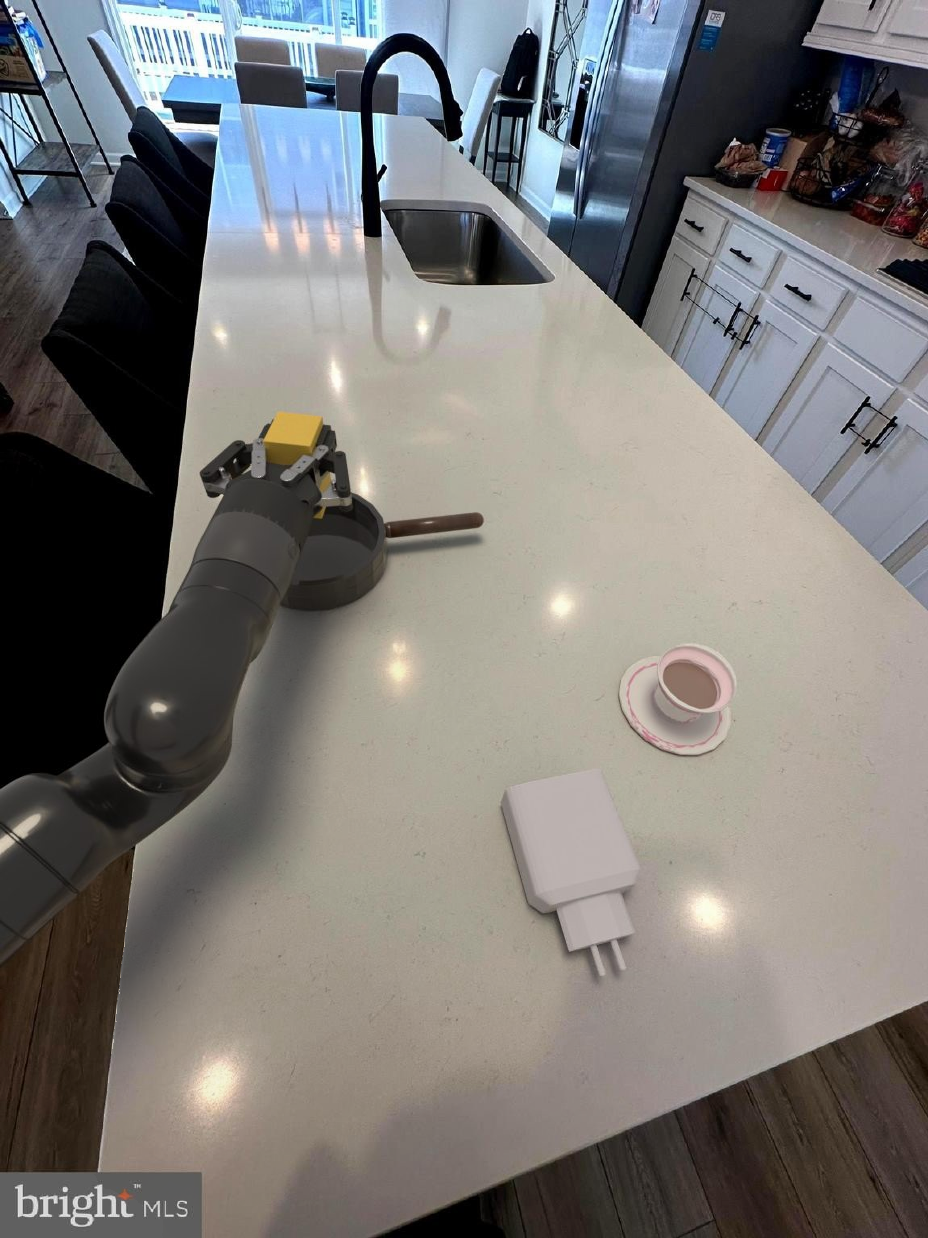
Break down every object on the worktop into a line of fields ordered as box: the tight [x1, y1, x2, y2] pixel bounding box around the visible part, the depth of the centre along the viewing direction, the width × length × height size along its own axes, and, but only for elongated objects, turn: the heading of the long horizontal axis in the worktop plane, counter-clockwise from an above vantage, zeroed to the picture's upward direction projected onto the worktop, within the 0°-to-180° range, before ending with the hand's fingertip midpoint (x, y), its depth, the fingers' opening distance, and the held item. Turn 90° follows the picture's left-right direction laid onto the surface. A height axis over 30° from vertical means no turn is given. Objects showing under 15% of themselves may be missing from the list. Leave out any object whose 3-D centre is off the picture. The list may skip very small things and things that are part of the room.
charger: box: [500, 768, 642, 978], centre depth 47 cm, size 5×9×15 cm
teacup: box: [618, 642, 738, 756], centre depth 58 cm, size 12×12×6 cm
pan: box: [279, 491, 388, 612], centre depth 67 cm, size 17×17×4 cm
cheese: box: [263, 411, 332, 519], centre depth 57 cm, size 5×4×9 cm
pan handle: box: [384, 511, 485, 539], centre depth 70 cm, size 13×2×2 cm, turn 104°
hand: (303, 430), depth 57 cm, fingers closed on cheese, 4 cm apart
